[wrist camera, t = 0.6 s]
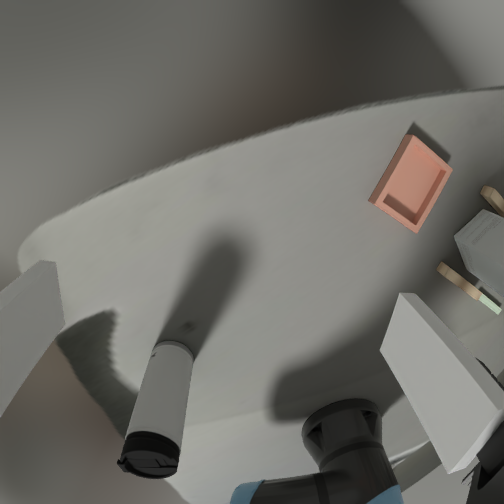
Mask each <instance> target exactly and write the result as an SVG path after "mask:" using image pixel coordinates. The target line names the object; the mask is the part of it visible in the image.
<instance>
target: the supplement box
mask: <svg viewBox="0 0 504 504" xmlns="http://www.w3.org/2000/svg"><path fill="white" fill-rule="evenodd" d="M454 238H455V241H456V244H457V246H458V249H459V251H460V254H461V257H462V259H463V262H464V265H465V267H466V270H467V271H469V272H470V273H472V274H473V275H474V276H476V277H477V278H479V279H480V280H481V281H483V282H484V283H485V284H487V285H488V286H489V287H491V288H492V289H493V290H495V291H496V292H497V293H499V294H500V295H501V296H503V297H504V218H503V217H501V216H499V215H496V214H494V213H491V212H489V211H487V210H484V209H482V210H481V211H480V212H479V213H478V214H477V215H476V216H475V217H474V218H473V219H472V220H471V221H470V222H468V223H467V224H466V225H465V226H464V227H463V228H462V229H461V230H460V231H459V232H457V233H456V234H455V235H454Z"/></svg>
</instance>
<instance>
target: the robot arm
mask: <svg viewBox="0 0 504 504" xmlns="http://www.w3.org/2000/svg"><path fill="white" fill-rule="evenodd" d="M64 325H65V319H64V313H63V307H62V302H61V295H60V289H59V282H58V275H57V267H56V262H52V261H44V260H40V261H39V262H37V263H36V264H35V265H33V266H32V267H31V268H30V269H28V270H27V271H26V272H24V273H23V274H22V275H21V276H19V277H18V278H17V279H16V280H14V281H13V282H12V283H11V284H10V285H8V286H7V287H6V288H5V289H3V290H2V291H1V292H0V417H1V416H2V414H3V413H4V411H5V409H6V408H7V406H8V405H9V403H10V401H11V400H12V398H13V397H14V395H15V394H16V392H17V391H18V389H19V388H20V386H21V385H22V383H23V382H24V380H25V379H26V377H27V376H28V374H29V373H30V372H31V370H32V369H33V367H34V366H35V365H36V363H37V362H38V360H39V359H40V358H41V356H42V355H43V353H44V352H45V351H46V349H47V348H48V346H49V345H50V344H51V343H52V341H53V340H54V339H55V337H56V336H57V335H58V333H59V332H60V331H61V329H62V328H63V327H64ZM380 352H381V353H382V355H383V357H384V358H385V360H386V362H387V363H388V365H389V367H390V369H391V370H392V372H393V374H394V375H395V377H396V379H397V381H398V382H399V384H400V386H401V388H402V389H403V391H404V393H405V395H406V396H407V398H408V400H409V402H410V404H411V405H412V407H413V409H414V411H415V413H416V414H417V416H418V418H419V420H420V422H421V424H422V425H423V427H424V429H425V431H426V433H427V435H428V437H429V438H430V440H431V442H432V444H433V446H434V448H435V450H436V452H437V454H438V456H439V458H440V459H441V461H442V463H443V465H444V467H445V469H446V471H447V473H448V474H449V473H452V472H455V471H458V470H461V469H463V468H466V467H467V465H468V464H469V463H470V462H471V461H472V460H473V458H474V457H475V456H477V457H478V459H479V461H480V462H479V463H478V464H477V465H476V466H475V467H474V468H473V470H472V471H471V472H470V473H469V474H468V475H467V476H466V477H465V478H464V479H463V481H462V483H461V484H465V483H466V482H467V481H468V480H469V479H470V477H472V481H471V482H470V483H469V484H468V486H470V491H469V495H468V498H467V502H466V504H504V387H503V386H502V384H501V383H500V382H497V378H496V377H495V376H494V375H493V374H491V371H490V370H489V369H488V368H487V367H486V366H485V364H484V363H483V362H481V361H480V360H478V359H477V358H476V357H474V356H473V355H472V353H471V352H470V351H469V350H468V349H467V348H466V347H465V346H464V344H463V343H462V342H461V341H460V340H459V339H458V338H457V337H456V336H455V335H454V334H453V332H452V331H451V330H450V329H449V328H448V327H447V326H446V325H445V324H444V323H443V322H442V321H441V320H440V319H439V317H438V316H437V315H436V314H435V313H434V312H433V311H432V310H431V309H430V308H429V307H428V306H427V305H426V304H425V303H424V302H423V301H422V300H421V299H420V298H419V297H418V296H417V295H416V294H415V293H399V296H398V299H397V302H396V305H395V308H394V311H393V314H392V317H391V320H390V323H389V326H388V329H387V332H386V335H385V337H384V340H383V343H382V345H381V348H380ZM302 438H303V443H304V446H305V448H306V449H307V450H308V452H309V453H310V455H311V456H312V458H313V459H314V460H315V462H316V463H317V465H318V466H319V470H320V473H315V474H309V475H303V476H297V477H290V478H282V479H273V480H261V481H258V482H250V483H243V484H241V485H239V486H238V487H237V488H236V489H235V491H234V492H233V494H232V497H231V501H230V504H404V502H403V498H402V495H401V492H400V485H398V482H397V480H396V477H395V475H394V472H393V470H392V467H391V465H390V462H389V460H388V457H387V455H386V453H385V450H384V448H383V445H382V418H381V415H380V413H379V411H378V408H377V407H376V405H375V404H373V403H372V402H370V401H367V400H362V399H350V400H344V401H340V402H336V403H333V404H331V405H328V406H326V407H324V408H322V409H321V410H319V411H317V412H316V413H314V414H313V415H312V416H311V417H310V418H309V419H308V420H307V421H306V422H305V424H304V426H303V428H302Z"/></svg>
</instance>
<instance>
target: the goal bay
mask: <svg viewBox="0 0 504 504" xmlns="http://www.w3.org/2000/svg"><path fill="white" fill-rule="evenodd" d="M479 300H480V301H481V302H483V303H484V304H485V305H487V306H488V307H489V308H490V309H492V310H493V311H494V312H495V313H497V314H499V313H500V311H501V310H502V309H501V308H499V307H498V306H497V305H496V304H495V303H493V302H492V301H491V300H490V299H489V298H487V297H486V296H485V295H484V294H483V293H482V295H481V296H480V298H479Z"/></svg>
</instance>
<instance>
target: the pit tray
mask: <svg viewBox="0 0 504 504" xmlns="http://www.w3.org/2000/svg"><path fill="white" fill-rule="evenodd" d="M452 170H453V169H452V168H451V167H450V166H449V165H447V164H446V163H445V162H444V161H443V160H442V159H441V158H440V157H439V156H438V155H436V154H435V153H434V152H433V151H432V150H431V149H430V148H428V147H427V146H426V145H425V144H424V143H423V142H421V141H420V140H419V139H418V138H417V137H415V136H414V135H407V134H406V135H405V137H404V139H403V140H402V142H401V144H400V146H399V148H398V150H397V151H396V153H395V155H394V157H393V159H392V160H391V162H390V164H389V166H388V167H387V169H386V171H385V173H384V174H383V176H382V178H381V180H380V181H379V183H378V185H377V187H376V188H375V190H374V192H373V193H372V195H371V197H370V198H369V200H368V201H369V202H371V203H372V204H374V205H375V206H377V207H378V208H380V209H381V210H383V211H384V212H386V213H387V214H389V215H390V216H392V217H393V218H394V219H396V220H397V221H399V222H400V223H402V224H403V225H404V226H406V227H407V228H409V229H410V230H412V231H413V232H415V233H416V234H417V233H418V231H419V229H420V228H421V226H422V224H423V223H424V221H425V219H426V218H427V216H428V214H429V212H430V211H431V209H432V207H433V205H434V204H435V202H436V200H437V198H438V196H439V195H440V193H441V191H442V189H443V187H444V186H445V184H446V182H447V180H448V178H449V176H450V174H451V172H452Z"/></svg>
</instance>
